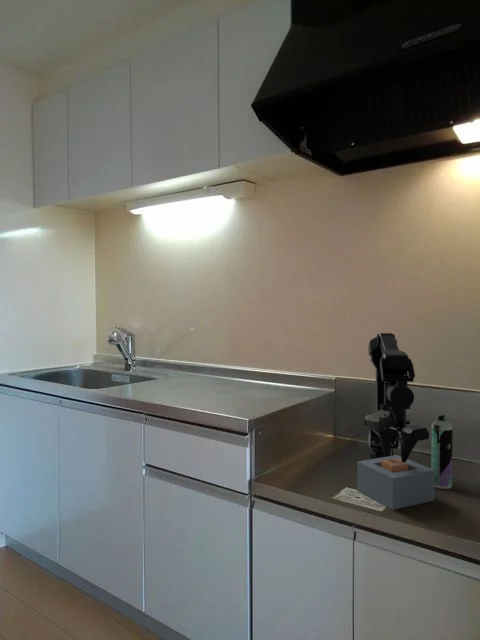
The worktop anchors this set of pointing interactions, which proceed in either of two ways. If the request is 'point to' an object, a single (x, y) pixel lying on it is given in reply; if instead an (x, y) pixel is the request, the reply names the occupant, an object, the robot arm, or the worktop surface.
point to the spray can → (442, 452)
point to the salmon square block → (394, 465)
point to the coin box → (396, 483)
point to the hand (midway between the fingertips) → (394, 458)
